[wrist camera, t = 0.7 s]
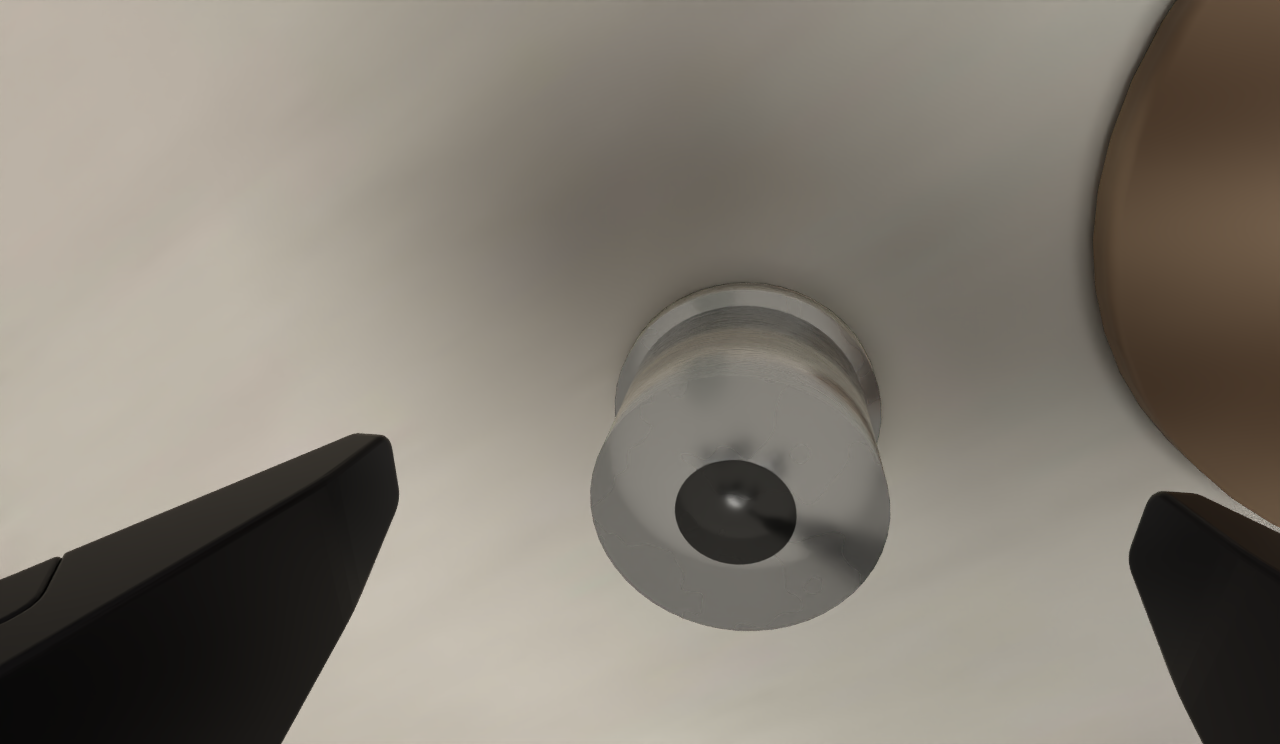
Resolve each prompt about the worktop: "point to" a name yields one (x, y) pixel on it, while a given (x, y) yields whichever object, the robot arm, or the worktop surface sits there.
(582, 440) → the worktop surface
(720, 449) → the cap
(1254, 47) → the turntable
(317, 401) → the worktop surface
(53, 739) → the robot arm
